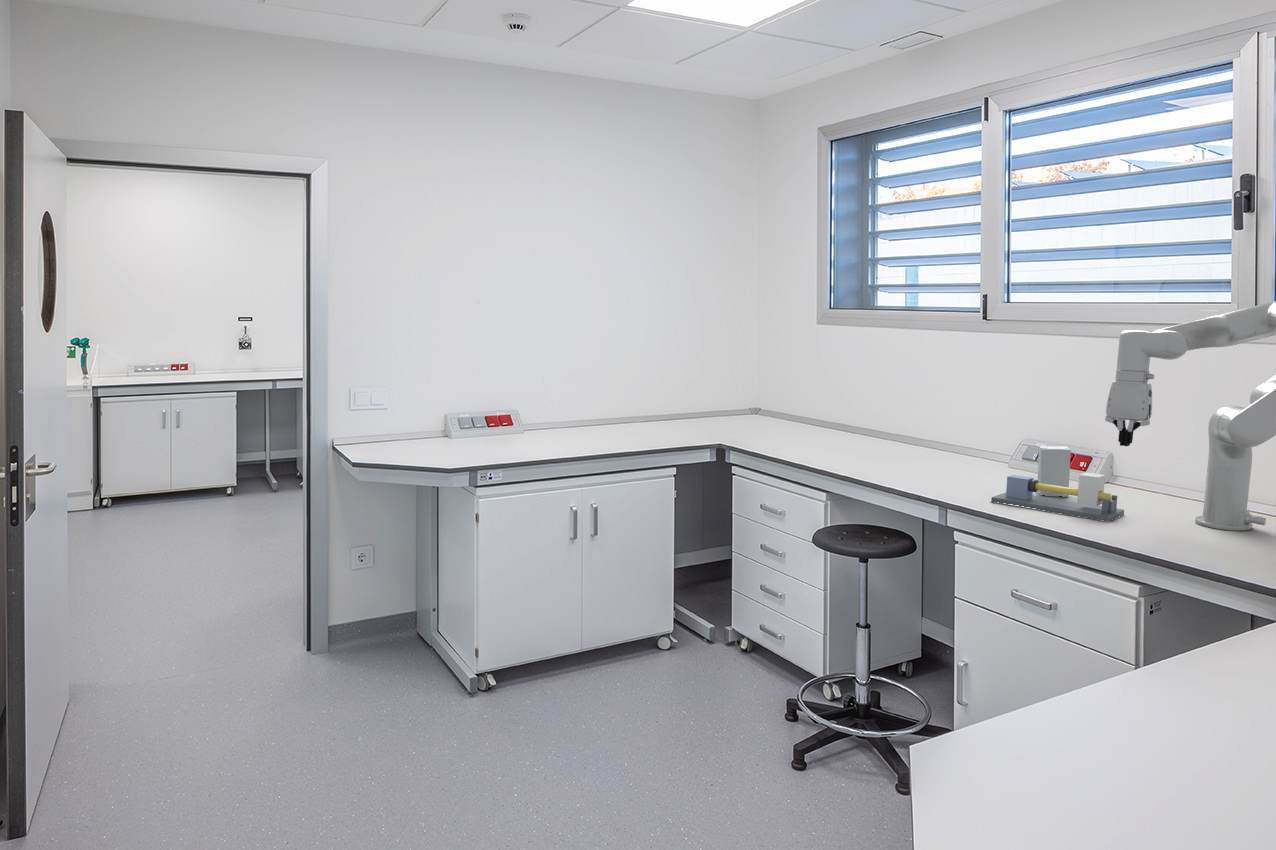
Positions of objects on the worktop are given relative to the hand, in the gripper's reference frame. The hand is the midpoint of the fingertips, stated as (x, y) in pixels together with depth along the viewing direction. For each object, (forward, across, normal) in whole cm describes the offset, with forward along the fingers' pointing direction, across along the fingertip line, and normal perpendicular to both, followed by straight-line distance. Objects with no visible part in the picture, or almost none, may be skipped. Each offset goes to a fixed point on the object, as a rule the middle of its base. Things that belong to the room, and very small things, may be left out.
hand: (1124, 445), depth 238 cm
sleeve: (+17, +7, 0) cm, 19 cm away
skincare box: (+21, +24, -18) cm, 37 cm away
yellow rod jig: (+20, +16, 0) cm, 26 cm away
